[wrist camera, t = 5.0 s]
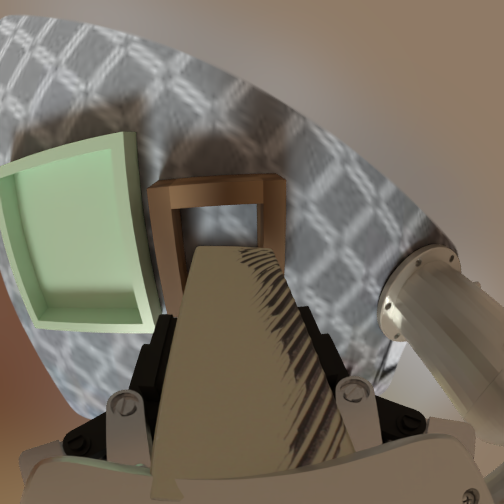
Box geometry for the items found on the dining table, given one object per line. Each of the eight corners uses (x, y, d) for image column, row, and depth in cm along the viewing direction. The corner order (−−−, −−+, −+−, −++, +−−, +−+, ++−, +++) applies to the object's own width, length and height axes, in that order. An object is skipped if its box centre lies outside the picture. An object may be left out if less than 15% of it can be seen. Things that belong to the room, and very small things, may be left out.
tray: (136, 132, 18) (123, 131, 15) (162, 312, 24) (156, 333, 22) (9, 164, 17) (-10, 170, 14) (47, 311, 23) (35, 328, 20)
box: (264, 320, 17) (313, 528, 5) (194, 319, 16) (180, 535, 5) (273, 241, 15) (383, 487, 3) (192, 238, 14) (138, 508, 3)
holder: (275, 173, 20) (286, 180, 17) (274, 287, 24) (282, 310, 21) (158, 180, 20) (146, 188, 16) (173, 294, 24) (168, 317, 20)
